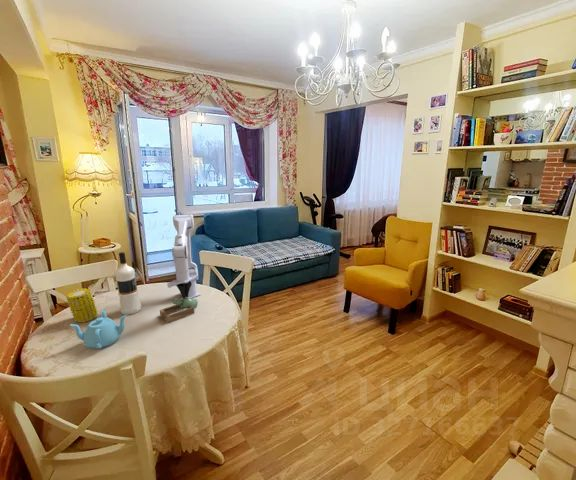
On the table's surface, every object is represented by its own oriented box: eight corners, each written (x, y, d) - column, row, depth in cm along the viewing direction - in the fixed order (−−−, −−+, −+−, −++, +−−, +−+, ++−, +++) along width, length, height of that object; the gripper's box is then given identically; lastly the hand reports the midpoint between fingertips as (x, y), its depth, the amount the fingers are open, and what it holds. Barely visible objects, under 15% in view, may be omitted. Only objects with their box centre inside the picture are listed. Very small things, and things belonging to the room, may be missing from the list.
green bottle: (190, 307, 150) (170, 305, 142) (193, 297, 150) (173, 294, 142) (195, 310, 146) (175, 308, 138) (198, 300, 147) (178, 297, 139)
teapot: (97, 356, 113) (92, 332, 110) (72, 346, 119) (67, 323, 116) (131, 336, 126) (127, 314, 123) (107, 328, 132) (103, 307, 129)
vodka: (118, 310, 148) (108, 252, 140) (138, 304, 154) (130, 248, 146) (122, 317, 141) (112, 256, 133) (143, 311, 147) (134, 252, 139)
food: (102, 318, 144) (80, 329, 135) (87, 308, 148) (65, 318, 140) (100, 291, 138) (76, 301, 129) (84, 282, 142) (60, 291, 134)
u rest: (160, 315, 142) (159, 310, 141) (185, 306, 150) (185, 301, 150) (168, 323, 135) (167, 317, 135) (194, 313, 144) (193, 307, 143)
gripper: (170, 276, 133) (173, 304, 136) (200, 268, 143) (202, 295, 146) (164, 272, 138) (167, 299, 141) (193, 265, 148) (196, 290, 151)
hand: (185, 297), depth 144 cm, fingers closed
